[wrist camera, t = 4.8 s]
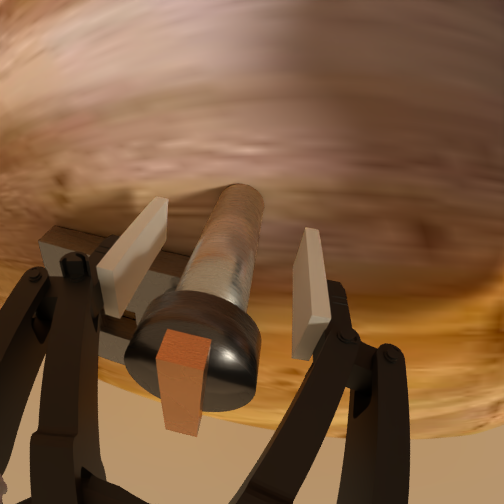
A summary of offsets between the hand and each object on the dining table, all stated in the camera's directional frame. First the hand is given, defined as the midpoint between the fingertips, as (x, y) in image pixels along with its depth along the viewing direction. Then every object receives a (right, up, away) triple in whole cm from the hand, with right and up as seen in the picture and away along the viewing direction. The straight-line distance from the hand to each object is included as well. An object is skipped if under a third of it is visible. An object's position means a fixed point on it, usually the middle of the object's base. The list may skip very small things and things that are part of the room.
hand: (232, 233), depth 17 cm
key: (0, +2, +3) cm, 4 cm away
